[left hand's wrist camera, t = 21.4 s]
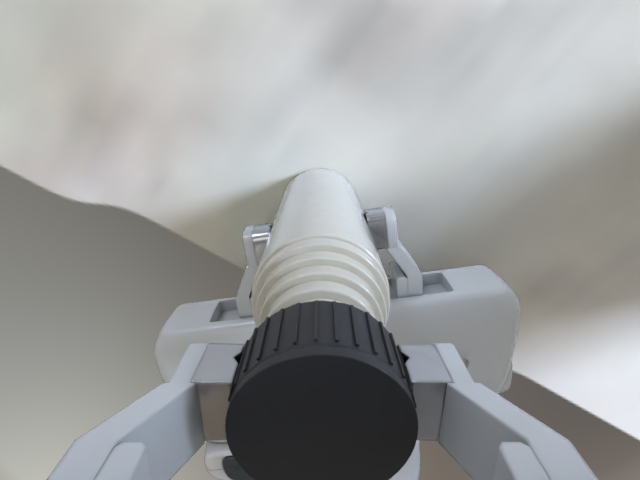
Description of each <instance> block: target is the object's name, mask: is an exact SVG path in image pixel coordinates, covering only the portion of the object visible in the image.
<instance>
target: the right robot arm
mask: <svg viewBox="0 0 640 480" xmlns="http://www.w3.org/2000/svg"><path fill="white" fill-rule="evenodd" d="M364 216H365V219H366V222H367V224H368V227H369V230H370V232H371V235H372V238H373V240H374V243H375V246H376V249H382V248H386V249H387V251H388V252H389V253H390V255H391V256H392V257H393V259H394V260H395V261H394V262H391V263H390V277H387V279H388V283H389V289H390V312H389V317H388V320H387V323H386V327H385V328H386V330H387V331H388V332H389V333H392V334H393V337H394V341H395V344H396V346H397V344H433V343H452V344H453V345H454V346H455V348H456V350H457V352H458V353H459V355H460V357H461V359H462V361H463V363H464V364H465V366H466V368H467V370H468V372H469V373H470V375H471V377H472V379H473V381H474V383H481V384H483V385H484V386H486V387H487V388H489V389H490V390H492V391H494V392H495V393H497V394H498V395H500V394H501V393H502V392H505V391H507V390H508V389H509V387H510V385H511V381H512V356H513V351H514V347H515V342H516V336H517V330H518V323H519V315H520V304H519V300H518V298H517V296H516V294H515V293H514V292H513V290H512V289H511V288H510V287H509V286H508V285H507V284H506V282H505V281H504V280H502V279H501V278H500V277H499V276H498V275H497V274H495V273H494V272H493V271H492V270H490V269H489V268H488V267H486V266H483V265H475V266H467V267H460V268H452V269H445V270H437V271H429V272H422V273H421V272H420V270H419V268H418V267H417V265H416V263H415V261H414V260H413V258H412V257H411V255H410V254H409V253H408V251H407V250H406V249H405V248H404V246H403V245H402V244H401V242H400V241H399V240H398V235H397V222H396V216H395V212H394V210H393V209H392V207H391V206H388V207H380V208H374V209H367V210H364ZM272 226H273V223H269V224H261V225H252V226H247V227H246V228H245V230H244V231H243V245H244V249H245V253H246V258H247V262H248V264H247V267H246V269H245V272H244V275H243V278H242V280H241V283H240V286H239V289H238V292H237V295H236V297H231V298H223V299H216V300H208V301H200V302H192V303H185V304H181V305H179V306H178V307H177V308H176V309H175V310H174V312H173V313H172V314H171V316H170V317H169V318H168V320H167V321H166V322H165V324H164V325H163V327H162V329H161V330H160V332H159V334H158V336H157V339H156V341H155V344H154V355H155V360H156V363H157V366H158V369H159V371H160V374H161V377H162V379H163V382H164V383H169V381H170V379H171V378H172V376H173V374H174V372H175V370H176V368H177V366H178V364H179V363H180V361H181V359H182V357H183V355H184V353H185V351H186V349H187V348H188V346H189V345H190V344H192V343H209V344H210V343H228V344H245V343H246V341H247V340H250V338H251V336H252V334H253V332H254V329H255V328H256V325H255V322H254V318H253V315H252V307H251V303H252V285H253V280H254V277H255V274H256V271H257V269H258V266H259V263H260V260H261V257H262V255H263V252H264V249H265V246H266V243H267V240H268V238H269V235H270V232H271V229H272ZM204 462H205V466H206V469H207V471H208V473H209V474H210V475H211V476H213V477H214V478H217V479H220V480H254V479H253V478H251V477H250V476H249V475H248V474H247V473H246V472H245V471H244V470H243V469H242V468H241V467H240V466H239V465H238V463H237V462H236V460H235V459H234V457H233V455H232V453H231V451H230V449H229V446H228V443H227V440H217V441H207V445H206V451H205V457H204ZM419 472H420V448H419V440H417V441H416V444H415V447H414V450H413V452H412V454H411V456H410V458H409V459H408V461H407V462H406V464H405V465H404V466H403V467H402V468H401V469H400V471H399V472H398V473H396V474H395V475H394V476H393V477H392V478H391V479H389V480H418V477H419Z"/></svg>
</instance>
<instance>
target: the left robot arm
mask: <svg viewBox="0 0 640 480" xmlns="http://www.w3.org/2000/svg"><path fill="white" fill-rule="evenodd" d="M397 346H399V348H400V352H401V355H402V358H403V361H404V364H405V368H406V371H407V374H408V377H409V380H410V383H411V386H412V389H413V393H411V395H412V399H415V402H416V406H417V408H416V412H417V416H418V437H417V440H426V441H427V440H428V441H439V443H440V445H441V446H442V447H443V448H444V449H445V450H446V451H447V452H448V453H449V454H450V455H451V456H452V457H453V458H454V459H455V461H456V462H457V463H458V464H459V465H460V466H461V467H462V468H463V469H464V470H465V471H466V472H467V473H468V474H469V475H470V476H471V478H472V479H473V480H598V479H597V478H596V476H595V475H594V473H593V472H592V471H591V469H590V468H589V466H588V465H587V464H586V462H585V461H584V460H583V458H582V457H581V455H580V454H579V453H578V451H577V450H576V448H575V447H574V446H573V444H572V443H571V442H570V440H568V439H566V438H565V437H563V436H562V435H560V434H559V433H557V432H556V431H554V430H552V429H551V428H549V427H548V426H546V425H545V424H543V423H542V422H540V421H539V420H537V419H535V418H534V417H532V416H531V415H529V414H528V413H526V412H525V411H523V410H521V409H520V408H518V407H517V406H515V405H514V404H512V403H511V402H509V401H507V400H506V399H504V398H503V397H501V396H500V395H498V394H497V393H495V392H494V391H492V390H490V389H489V388H487V387H486V386H484V385H483V384H481V383H474V381H473V379H472V377H471V375H470V373H469V372H468V370H467V368H466V366H465V364H464V363H463V361H462V359H461V357H460V355H459V353H458V352H457V350H456V348H455V346H454V345H453V344H452V343H433V344H397ZM244 347H245V344H228V343H210V344H209V343H192V344H190V345H189V346H188V348H187V349H186V351H185V353H184V355H183V357H182V359H181V361H180V363H179V364H178V366H177V368H176V370H175V372H174V374H173V376H172V378H171V379H170V381H169V383H162V384H161V385H159V386H158V387H156V388H155V389H153V390H152V391H150V392H148V393H147V394H145V395H144V396H142V397H141V398H139V399H138V400H136V401H135V402H133V403H131V404H130V405H128V406H127V407H125V408H124V409H122V410H121V411H119V412H118V413H116V414H115V415H113V416H111V417H110V418H108V419H107V420H105V421H104V422H102V423H101V424H99V425H97V426H96V427H94V428H93V429H91V430H90V431H88V432H87V433H85V434H84V435H82V436H81V437H79V438H77V439H76V440H75V441H74V442H73V444H72V445H71V446H70V448H69V449H68V450H67V452H66V453H65V455H64V456H63V457H62V459H61V460H60V462H59V463H58V464H57V466H56V467H55V469H54V470H53V471H52V473H51V474H50V476H49V477H48V478H47V480H170V479H171V478H172V477H173V476H174V475H175V474H176V473H177V472H178V471H179V470H180V469H181V467H182V466H183V465H184V464H185V463H186V462H187V461H188V460H189V459H190V458H191V457H192V456H193V455H194V454H195V452H196V451H197V450H198V449H199V448H200V447H201V446H202V445H203V444H204V441H217V440H226V433H225V419H226V414H227V410H228V406H229V403H230V401H228V397H229V394H230V392H231V393H233V389H234V386H233V384H234V380H235V377H236V373H237V370H238V364H239V363H240V360H241V357H242V353H243V350H244Z"/></svg>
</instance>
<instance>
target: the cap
mask: <svg viewBox="0 0 640 480" xmlns="http://www.w3.org/2000/svg"><path fill="white" fill-rule="evenodd" d="M233 386H234V389H233V393H231V392H230V394H229V397H228V401H230V403H229V406H228V410H227V414H226V419H225V433H226V440H227V443H228V446H229V449H230V451H231V453H232V455H233V457H234V459H235V460H236V462H237V463H238V465H239V466H240V467H241V468H242V469H243V470H244V471H245V472H246V473H247V474H248V475H249V476H250V477H251V478H253V479H254V480H389V479H391V478H392V477H393V476H394V475H395V474H396V473H398V472H399V471H400V469H401V468H402V467H403V466H404V465H405V464H406V462H407V461H408V459H409V458H410V456H411V454H412V452H413V450H414V447H415V444H416V441H417V437H418V416H417V412H416V408H417V406H416V402H415V399H412V395H411V393H413V389H412V386H411V383H410V380H409V377H408V374H407V371H406V368H405V364H404V361H403V358H402V355H401V352H400V348H399V346H396V344H395V341H394V337H393V334H392V333H389V332H388V331H387V330H386V328H385V327H384V326H383V323H382V322H381V321H380V322H379V321H378V320H376V319H375V318H374V317H372V316H371V315H370V314H369V312H364V311H362V310H360V309H358V308H356V307H354V306H353V305H349V304H345V303H339V302H336V301H333V302H332V301H324V300H321V301H320V300H315V301H311V302H304V303H297V304H296V305H295V304H294V305H292V306H290V307H287V308H285V309H283V308H282V309H280V311H279V312H277V313H274V314H273V315H271V316H270V317H267V318H266V319H265V321H264V322H263V323H262V324H261V325H260V326H259V327H258V328H257V327H256V328H255V329H254V332H253V334H252V336H251V338H250V340H247V341H246V343H245V347H244V350H243V353H242V357H241V360H240V363H239V364H238V370H237V373H236V377H235V380H234V384H233Z"/></svg>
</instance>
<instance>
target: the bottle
mask: <svg viewBox="0 0 640 480" xmlns="http://www.w3.org/2000/svg"><path fill="white" fill-rule="evenodd" d="M315 300H320V301H321V300H324V301H332V302H333V301H336V302H339V303H345V304H349V305H353V306H354V307H356V308H358V309H360V310H362V311H364V312H369V314H370V315H371V316H372V317H374V318H375V319H376V320H378V321H379V322H380V321H381V322H382V323H383V326H384V327H386V323H387V320H388V317H389V312H390V289H389V283H388V279H387V275H386V273H385V270H384V267H383V265H382V262H381V259H380V257H379V254H378V251H377V249H376V246H375V243H374V240H373V238H372V235H371V232H370V230H369V227H368V224H367V222H366V219H365V216H364V214H363V211H362V208H361V205H360V203H359V200H358V197H357V195H356V192H355V190H354V188H353V186H352V185H351V183H350V182H349V181H348V180H347V179H346V178H345V177H344V176H342V175H341V174H339V173H337V172H335V171H332V170H329V169H322V168H319V169H311V170H308V171H305V172H303V173H301V174H299V175H298V176H296V177H295V178H294V179H293V180H292V181H291V182H290V183H289V185H288V186H287V188H286V190H285V192H284V195H283V198H282V201H281V204H280V206H279V209H278V212H277V215H276V218H275V221H274V223H273V226H272V229H271V232H270V235H269V238H268V240H267V243H266V246H265V249H264V252H263V255H262V257H261V260H260V263H259V266H258V269H257V271H256V274H255V277H254V280H253V285H252V303H251V307H252V315H253V318H254V322H255V325H256V327H257V328H258V327H259V326H260V325H261V324H262V323H263V322H264V321H265V319H266V318H267V317H270V316H271V315H273V314H274V313H277V312H279V311H280V309H282V308H283V309H285V308H287V307H290V306H292V305H294V304H295V305H296V304H297V303H304V302H311V301H315Z"/></svg>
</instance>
